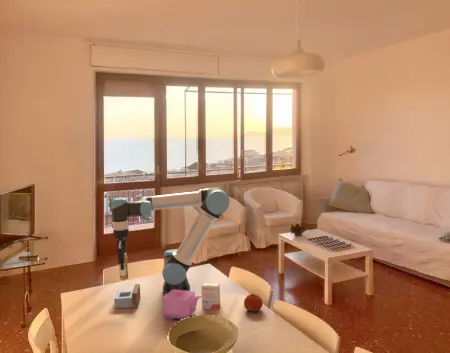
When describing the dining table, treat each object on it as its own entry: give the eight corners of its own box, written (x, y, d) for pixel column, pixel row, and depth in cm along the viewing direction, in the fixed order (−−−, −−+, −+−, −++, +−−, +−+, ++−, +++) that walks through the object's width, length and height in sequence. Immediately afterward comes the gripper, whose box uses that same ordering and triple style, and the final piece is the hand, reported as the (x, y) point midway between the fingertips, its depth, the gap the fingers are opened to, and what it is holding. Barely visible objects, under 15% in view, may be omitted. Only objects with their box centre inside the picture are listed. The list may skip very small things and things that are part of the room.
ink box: (220, 305, 187) (220, 282, 185) (218, 309, 182) (218, 286, 181) (204, 304, 188) (203, 281, 187) (201, 308, 183) (201, 285, 182)
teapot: (159, 318, 174) (157, 293, 173) (169, 309, 184) (168, 284, 182) (198, 324, 168) (197, 298, 166) (206, 314, 177) (205, 289, 176)
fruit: (241, 313, 177) (241, 297, 177) (247, 305, 186) (247, 290, 185) (259, 316, 174) (259, 299, 174) (264, 307, 183) (264, 292, 182)
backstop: (140, 298, 197) (139, 283, 196) (137, 308, 185) (136, 293, 185) (135, 298, 197) (135, 284, 196) (132, 308, 185) (131, 293, 184)
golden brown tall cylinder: (120, 277, 191) (119, 252, 189) (128, 276, 191) (127, 252, 190) (119, 280, 187) (117, 255, 185) (127, 279, 187) (125, 254, 186)
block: (135, 299, 196) (135, 290, 195) (133, 307, 187) (132, 297, 186) (118, 300, 195) (117, 291, 194) (114, 308, 186) (114, 298, 185)
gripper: (116, 225, 194) (119, 268, 197) (109, 233, 177) (113, 280, 180) (130, 224, 195) (133, 267, 197) (125, 232, 178) (129, 279, 181)
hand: (123, 273), depth 189 cm, fingers closed on golden brown tall cylinder, 4 cm apart
